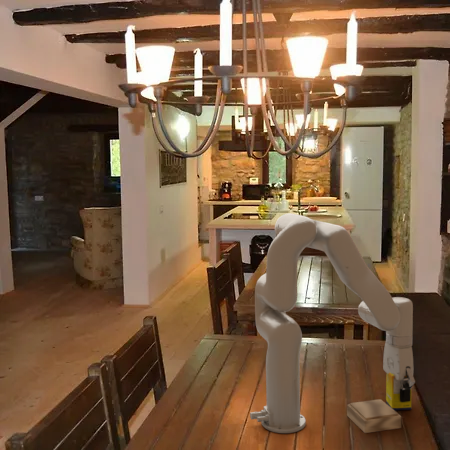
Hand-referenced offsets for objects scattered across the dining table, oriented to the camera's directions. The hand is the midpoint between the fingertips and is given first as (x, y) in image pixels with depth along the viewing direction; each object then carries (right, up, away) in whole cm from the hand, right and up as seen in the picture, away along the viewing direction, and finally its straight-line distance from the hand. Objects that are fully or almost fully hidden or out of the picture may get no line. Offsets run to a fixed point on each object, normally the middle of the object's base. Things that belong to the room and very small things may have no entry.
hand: (398, 396), depth 169 cm
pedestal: (-10, -4, -9) cm, 14 cm away
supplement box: (0, -3, 0) cm, 3 cm away
